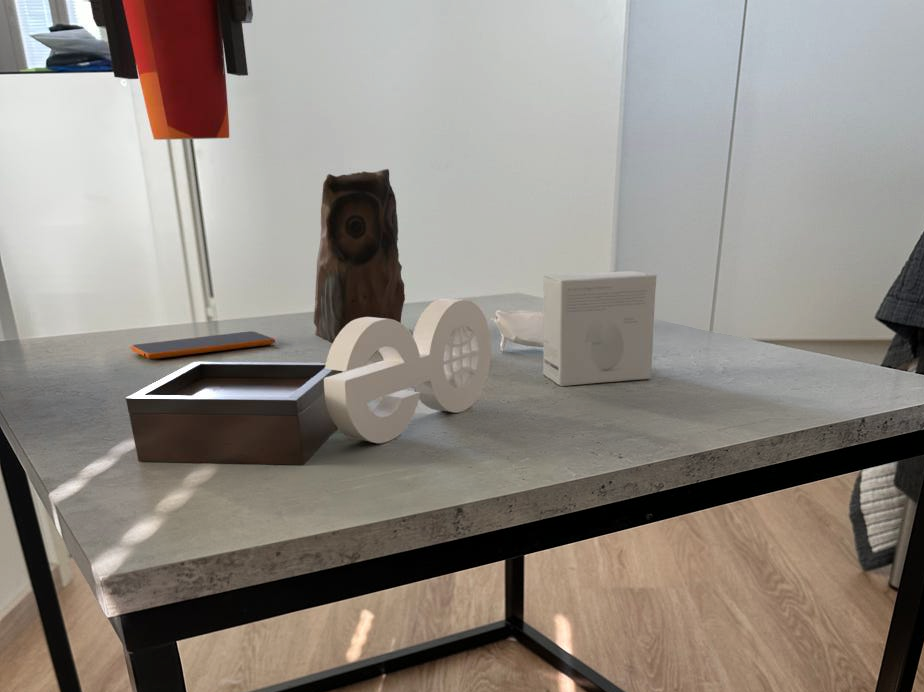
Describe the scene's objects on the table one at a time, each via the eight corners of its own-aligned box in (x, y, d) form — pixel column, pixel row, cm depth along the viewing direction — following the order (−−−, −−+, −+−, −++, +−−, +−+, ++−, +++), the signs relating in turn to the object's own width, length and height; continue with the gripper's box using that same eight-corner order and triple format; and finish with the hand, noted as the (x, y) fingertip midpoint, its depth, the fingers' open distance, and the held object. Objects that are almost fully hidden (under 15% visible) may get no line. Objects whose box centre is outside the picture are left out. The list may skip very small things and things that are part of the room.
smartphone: (276, 344, 120) (276, 337, 119) (148, 361, 111) (147, 354, 111) (253, 336, 125) (252, 329, 125) (129, 351, 117) (128, 344, 116)
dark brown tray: (137, 461, 76) (125, 398, 73) (203, 417, 88) (194, 361, 85) (303, 465, 74) (296, 400, 72) (346, 419, 86) (341, 362, 84)
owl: (405, 328, 129) (396, 168, 120) (420, 344, 118) (412, 170, 109) (314, 333, 127) (298, 170, 117) (321, 350, 116) (304, 172, 106)
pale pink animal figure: (504, 368, 111) (585, 345, 110) (489, 310, 109) (572, 286, 108) (503, 368, 116) (581, 345, 115) (489, 312, 114) (568, 289, 113)
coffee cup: (263, 137, 76) (236, -90, 69) (207, 137, 70) (171, -115, 63) (176, 139, 79) (142, -79, 72) (114, 140, 72) (70, -102, 65)
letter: (473, 397, 93) (471, 291, 88) (491, 399, 92) (490, 293, 87) (330, 452, 77) (318, 327, 72) (350, 456, 76) (340, 329, 71)
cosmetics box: (629, 367, 104) (635, 268, 99) (652, 380, 99) (659, 275, 94) (540, 374, 102) (542, 272, 97) (559, 387, 96) (561, 280, 91)
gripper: (293, -309, 64) (325, 75, 74) (5, -287, 66) (77, 83, 77) (258, -361, 57) (299, 68, 68) (-60, -335, 59) (29, 77, 70)
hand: (181, 75), depth 72 cm, fingers closed on coffee cup, 8 cm apart
